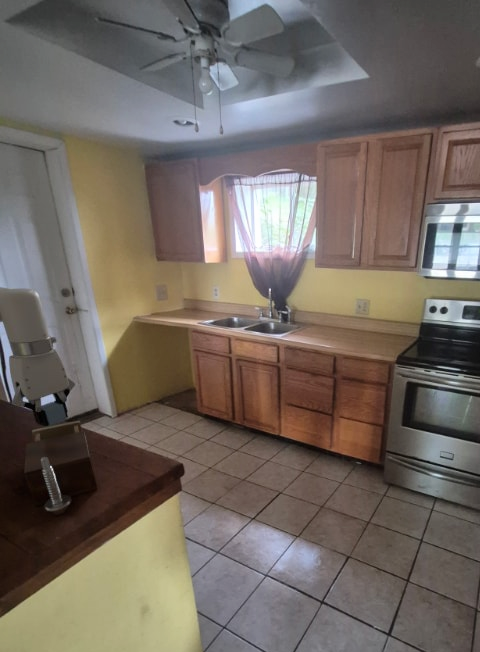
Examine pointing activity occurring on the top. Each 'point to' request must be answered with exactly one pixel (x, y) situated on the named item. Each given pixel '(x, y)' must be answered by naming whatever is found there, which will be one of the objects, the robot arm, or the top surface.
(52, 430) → the drawer
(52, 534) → the top surface
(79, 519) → the top surface
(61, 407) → the block
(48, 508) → the screw
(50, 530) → the top surface
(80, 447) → the cabinet
